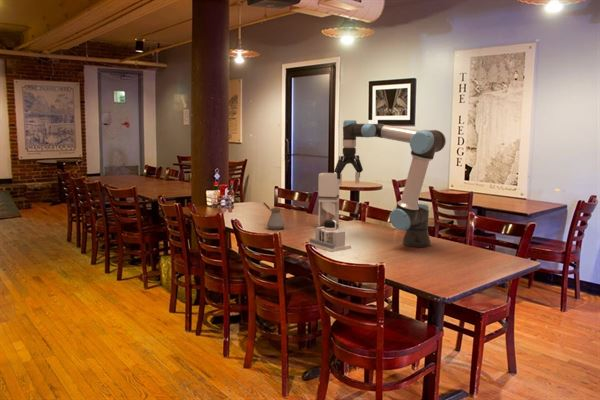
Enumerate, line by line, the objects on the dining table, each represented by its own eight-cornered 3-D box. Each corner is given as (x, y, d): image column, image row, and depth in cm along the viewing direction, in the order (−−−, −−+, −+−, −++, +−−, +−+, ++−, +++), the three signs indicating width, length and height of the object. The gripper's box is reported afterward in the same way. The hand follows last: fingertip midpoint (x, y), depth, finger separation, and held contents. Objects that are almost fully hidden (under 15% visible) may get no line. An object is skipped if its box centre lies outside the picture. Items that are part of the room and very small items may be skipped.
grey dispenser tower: (317, 229, 332) (318, 174, 327) (321, 226, 342) (321, 172, 337) (335, 230, 329) (336, 174, 324) (338, 227, 340) (339, 173, 334)
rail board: (351, 248, 283) (351, 230, 281) (331, 251, 274) (331, 234, 273) (328, 241, 298) (328, 225, 296) (308, 245, 289) (309, 228, 288)
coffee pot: (288, 229, 332) (288, 206, 329) (272, 231, 325) (272, 207, 323) (271, 224, 349) (271, 201, 347) (255, 225, 343) (255, 203, 341)
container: (326, 245, 281) (326, 222, 279) (320, 242, 288) (321, 219, 286) (339, 244, 283) (339, 221, 281) (333, 241, 291) (334, 218, 289)
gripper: (360, 146, 311) (359, 182, 314) (328, 147, 296) (327, 184, 299) (369, 147, 305) (368, 183, 308) (337, 148, 290) (336, 186, 293)
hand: (348, 184), depth 304 cm, fingers open, 13 cm apart
